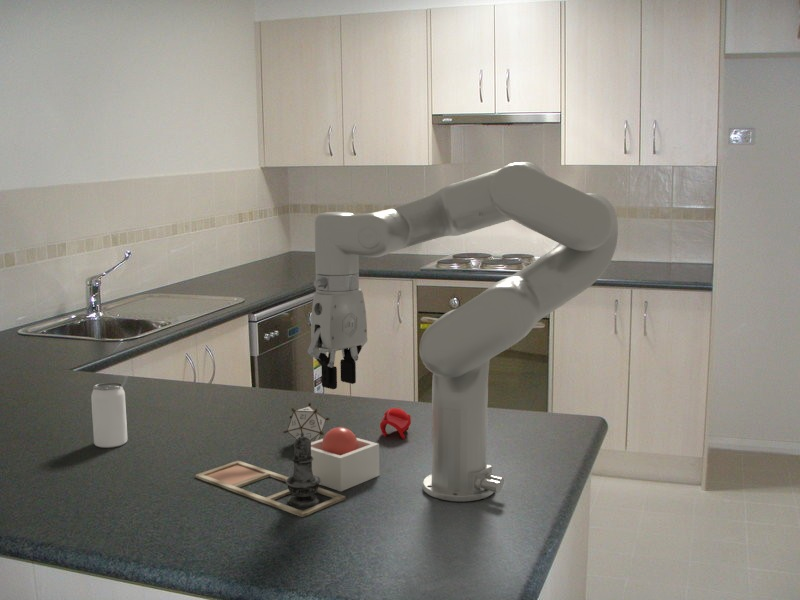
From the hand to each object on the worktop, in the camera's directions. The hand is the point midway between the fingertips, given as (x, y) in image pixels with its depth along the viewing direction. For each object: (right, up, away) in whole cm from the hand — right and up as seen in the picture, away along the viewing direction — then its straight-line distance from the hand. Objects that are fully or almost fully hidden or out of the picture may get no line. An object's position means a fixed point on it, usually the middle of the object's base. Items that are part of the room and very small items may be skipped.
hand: (338, 384), depth 158 cm
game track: (-12, -18, -2) cm, 22 cm away
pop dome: (0, -14, +2) cm, 14 cm away
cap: (+10, -13, +27) cm, 32 cm away
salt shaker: (-5, -19, -8) cm, 21 cm away
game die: (-8, -14, +21) cm, 27 cm away
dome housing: (0, -17, +3) cm, 17 cm away
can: (-48, -14, +22) cm, 54 cm away
